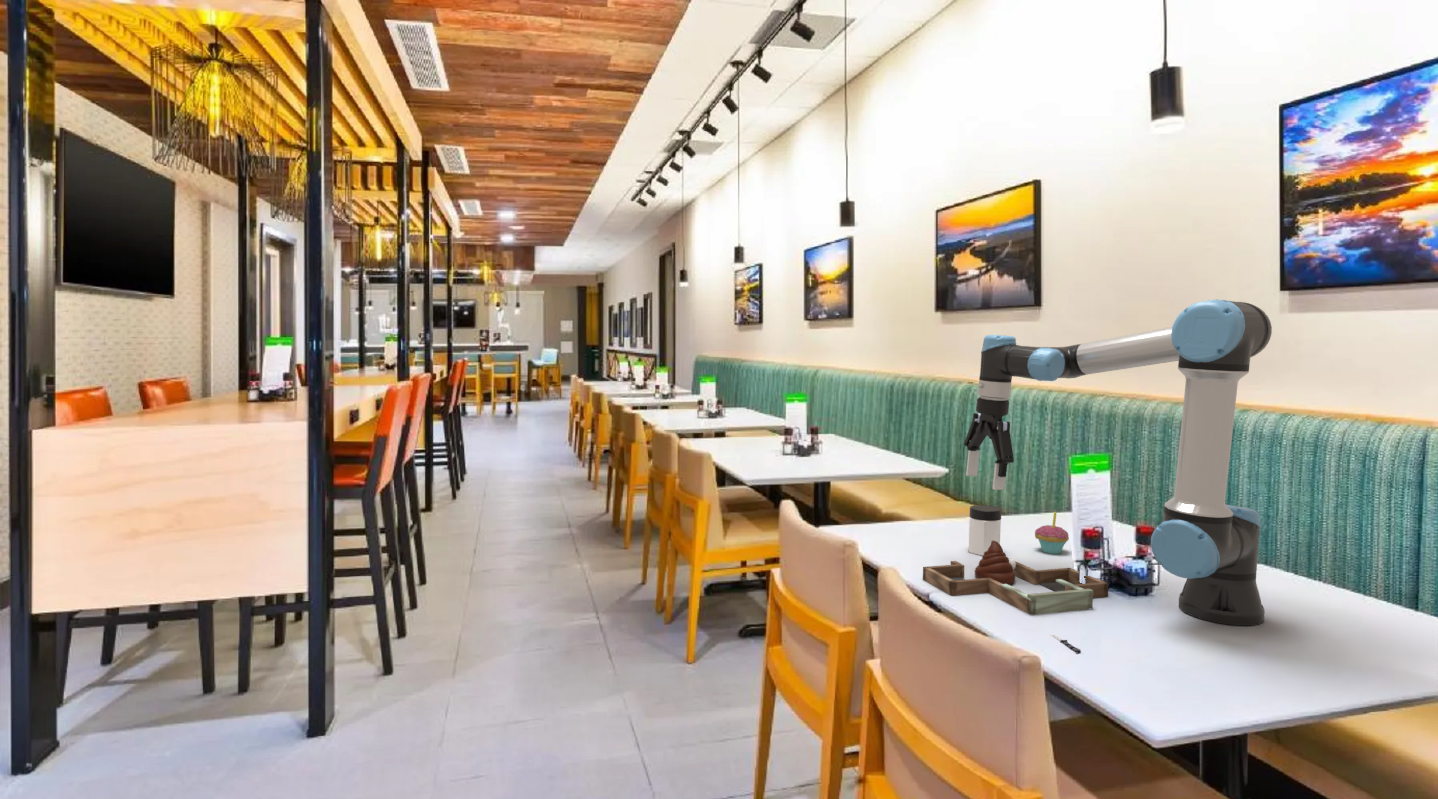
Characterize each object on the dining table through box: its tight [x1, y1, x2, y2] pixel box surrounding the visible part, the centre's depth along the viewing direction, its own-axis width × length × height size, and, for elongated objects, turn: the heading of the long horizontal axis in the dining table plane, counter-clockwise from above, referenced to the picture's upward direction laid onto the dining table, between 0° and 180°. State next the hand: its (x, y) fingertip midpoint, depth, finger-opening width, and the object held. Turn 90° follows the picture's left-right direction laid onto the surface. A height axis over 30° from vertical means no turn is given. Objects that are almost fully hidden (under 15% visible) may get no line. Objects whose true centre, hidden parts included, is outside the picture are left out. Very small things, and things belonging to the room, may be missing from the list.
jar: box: [968, 504, 1003, 557], centre depth 210 cm, size 9×8×12 cm
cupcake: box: [1034, 509, 1070, 555], centre depth 211 cm, size 9×8×12 cm
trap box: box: [922, 557, 1110, 616], centre depth 178 cm, size 30×34×4 cm
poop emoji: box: [974, 541, 1017, 586], centre depth 185 cm, size 10×8×9 cm
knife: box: [1050, 634, 1082, 654], centre depth 151 cm, size 19×2×1 cm, turn 15°
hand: (984, 482), depth 194 cm, fingers open, 13 cm apart
